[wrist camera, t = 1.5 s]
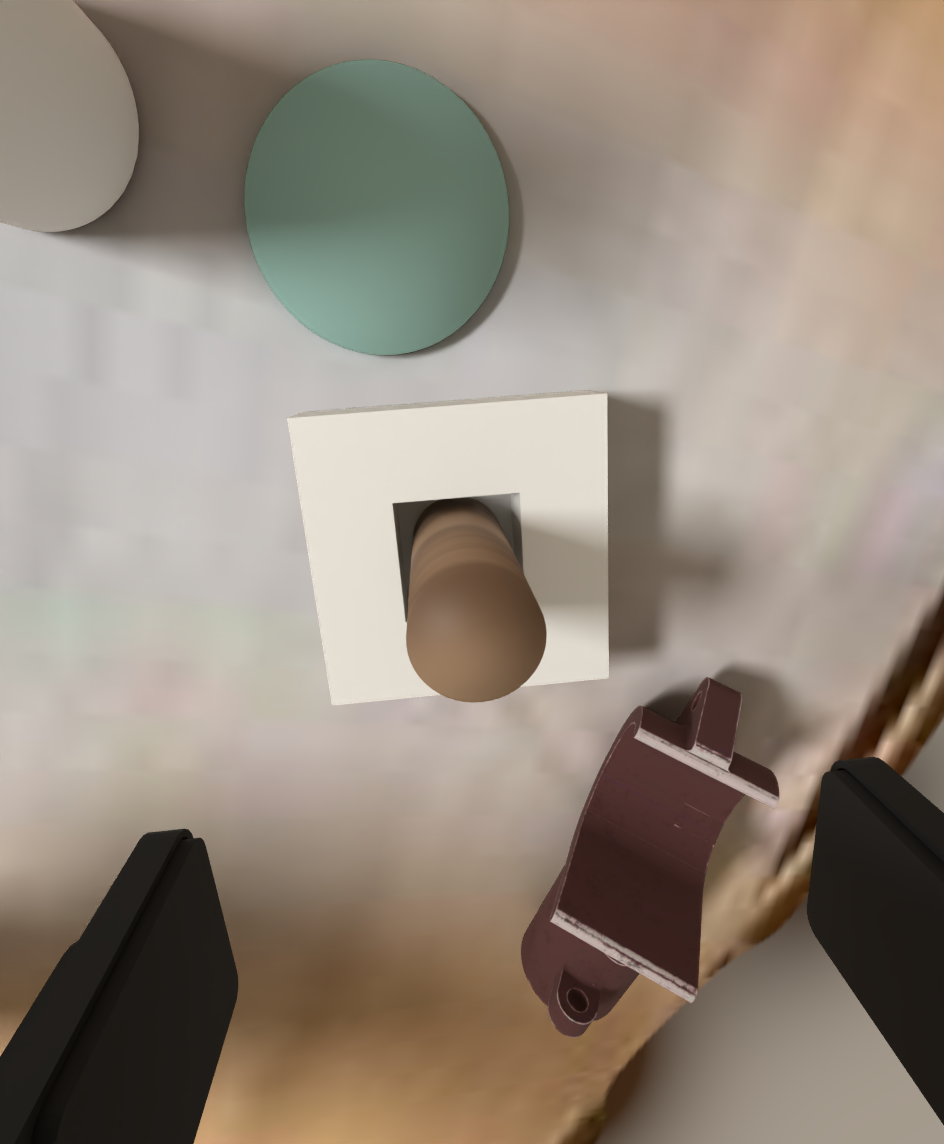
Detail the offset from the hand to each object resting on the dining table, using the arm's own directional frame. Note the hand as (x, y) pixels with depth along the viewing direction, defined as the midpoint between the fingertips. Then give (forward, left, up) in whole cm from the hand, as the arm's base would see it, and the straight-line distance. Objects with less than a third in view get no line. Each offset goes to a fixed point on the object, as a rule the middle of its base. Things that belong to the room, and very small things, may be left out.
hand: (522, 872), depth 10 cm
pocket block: (0, 0, -20) cm, 20 cm away
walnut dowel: (0, 0, -20) cm, 20 cm away
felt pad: (+13, +2, -20) cm, 24 cm away
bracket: (-15, -7, -21) cm, 27 cm away
